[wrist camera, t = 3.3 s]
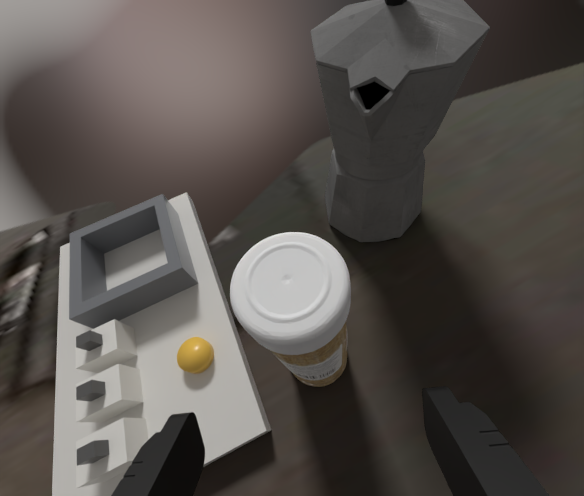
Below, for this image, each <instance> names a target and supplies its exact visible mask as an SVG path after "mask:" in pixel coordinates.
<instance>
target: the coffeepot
mask: <svg viewBox="0 0 584 496" xmlns="http://www.w3.org/2000/svg"><path fill="white" fill-rule="evenodd" d="M489 28H490V27H489V26H488V25H487V24H486V23H485V22H484V21H483V20H482V19H481V18H480V17H479V16H478V15H477V14H476V13H475V12H474V11H473V10H472V9H471V8H470V7H469V6H468V5H467V4H466V3H465V2H464V1H463V0H370V1H365V2H361V3H356V4H351V5H347V6H345V7H344V8H342V9H341V10H340V11H338V12H337V13H335V14H334V15H332V16H331V17H330V18H328V19H327V20H325V21H324V22H322V23H321V24H320V25H319V26H317V27H315V28H314V29H312V30H311V37H312V43H313V49H314V54H315V59H316V64H317V68H318V73H319V78H320V83H321V88H322V93H323V98H324V103H325V108H326V112H327V117H328V122H329V127H330V132H331V137H332V142H333V146H334V149H333V151H332V156H331V162H330V168H329V174H328V180H327V186H326V192H325V201H326V207H327V214H328V220H329V224H330V225H331V226H333V227H334V228H336V229H337V230H339V231H340V232H341V233H343V234H344V235H346V236H348V237H350V238H352V239H355V240H357V241H359V242H380V241H385V240H389V239H392V238H399V237H401V236H402V235H403V233H404V232H405V231H406V230H407V229H408V228H409V227H410V226H411V224H412V222H413V221H414V220H415V218H416V217H417V216H418V215H419V214H420V212H421V206H422V193H423V181H424V168H425V159H424V154H423V150H424V148H425V147H426V146H427V145H428V143H429V142H430V141H431V140H432V138H433V137H434V136H435V134H436V132H437V130H438V128H439V126H440V124H441V122H442V121H443V119H444V117H445V115H446V113H447V111H448V109H449V107H450V105H451V103H452V101H453V99H454V97H455V95H456V93H457V91H458V89H459V87H460V85H461V83H462V81H463V79H464V77H465V75H466V73H467V71H468V69H469V67H470V66H471V64H472V62H473V59H474V58H475V56H476V54H477V52H478V50H479V48H480V46H481V44H482V42H483V40H484V38H485V36H486V34H487V32H488V31H489Z"/></svg>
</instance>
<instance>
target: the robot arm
mask: <svg viewBox="0 0 584 496" xmlns="http://www.w3.org/2000/svg"><path fill="white" fill-rule="evenodd" d="M422 396H423V409H424V422H425V430H426V435H427V438H428V441H429V444H430V447H431V449H432V451H433V453H434V456H435V458H436V460H437V462H438V464H439V466H440V468H441V470H442V473H443V475H444V477H445V479H446V481H447V483H448V485H449V487H450V489H451V492H452V494H453V496H549V494H548V493H547V492H546V490H545V489H544V488H543V487H542V485H541V484H540V483H539V481H538V480H537V479H536V478H535V476H534V475H533V474H532V472H531V471H530V470H529V469H528V467H527V466H526V465H525V464H524V462H523V461H522V460H521V458H520V457H519V456H518V455H517V453H516V452H515V451H514V449H513V448H512V447H510V446H509V443H508V442H507V440H506V439H505V438H504V437H503V435H502V434H501V433H499V431H498V429H497V428H496V426H495V425H494V424H493V422H492V421H491V420H490V419H489V417H488V416H487V415H486V414H485V413H484V412H482V411H481V410H480V409H478V408H477V407H476V406H474V405H473V404H471V403H470V402H464V403H459V402H458V401H457V399H456V398H455V396H454V395H453V393H452V392H451V391H450V389H449V388H448V387H447V386H443V387H433V388H424V389H423V391H422ZM204 460H205V447H204V443H203V439H202V436H201V432H200V428H199V425H198V421H197V418H196V415H195V413H193V412H189V413H180V414H172V415H171V416H170V417H169V418H168V420H167V421H166V423H165V425H164V427H163V428H162V430H161V432H157V433H155V434H154V435H153V436H152V437H151V438H150V439H149V440H148V441H147V442H146V443H145V444H144V445H143V446H142V447H141V448H140V450H139V452H138V453H137V455H136V456H135V458H134V460H133V461H132V465H131V466H129V468H128V469H127V471H126V473H125V474H124V477H123V479H121V481H120V482H119V484H118V485H117V487H116V489H115V490H114V492H113V493H112V495H111V496H193V494H194V491H195V488H196V486H197V483H198V480H199V477H200V474H201V472H202V469H203V465H204Z"/></svg>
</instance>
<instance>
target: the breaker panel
mask: <svg viewBox="0 0 584 496" xmlns="http://www.w3.org/2000/svg"><path fill="white" fill-rule="evenodd" d="M189 412H193V413H195V415H196V418H197V421H198V425H199V428H200V432H201V436H202V439H203V443H204V447H205V460H204V465H203V467H205V466H206V465H208V464H210V463H212V462H214V461H216V460H217V459H219V458H221V457H223V456H225V455H227V454H229V453H230V452H232V451H234V450H236V449H238V448H240V447H241V446H243V445H245V444H247V443H249V442H251V441H253V440H254V439H256V438H258V437H260V436H262V435H264V434H265V433H267V432H269V431H271V428H270V425H269V422H268V419H267V416H266V413H265V410H264V407H263V404H262V402H261V399H260V396H259V393H258V390H257V387H256V384H255V381H254V378H253V375H252V373H251V370H250V367H249V364H248V361H247V358H246V355H245V352H244V349H243V346H242V343H241V341H240V338H239V335H238V332H237V329H236V326H235V323H234V320H233V317H232V314H231V312H230V309H229V306H228V303H227V300H226V297H225V294H224V291H223V288H222V285H221V282H220V280H219V277H218V274H217V271H216V268H215V265H214V262H213V259H212V256H211V253H210V250H209V248H208V245H207V242H206V239H205V236H204V233H203V231H202V227H201V224H200V222H199V219H198V216H197V213H196V210H195V207H194V204H193V201H192V200H191V198H190V197H189V195H188V194H187V193H184V194H182V195H180V196H177V197H175V198H173V199H170V200H167V199H166V197H165V196H164V195H163V194H161V195H159V196H157V197H154V198H152V199H150V200H147V201H145V202H143V203H141V204H138V205H136V206H133V207H131V208H129V209H126V210H125V211H122V212H119V213H117V214H115V215H112V216H110V217H108V218H105V219H103V220H101V221H98V222H96V223H94V224H91V225H89V226H87V227H84V228H82V229H80V230H77V231H75V232H73V233H70V243H68V244H66V245H64V246H61V247H60V270H59V300H58V331H57V361H56V392H55V422H54V453H53V483H52V496H111V495H112V493H113V492H114V490H115V489H116V487H117V485H118V484H119V482H120V481H121V479H123V477H124V474H125V473H126V471H127V469H128V468H129V466H131V465H132V461H133V460H134V458H135V456H136V455H137V453H138V452H139V450H140V448H141V447H142V446H143V445H144V444H145V443H146V442H147V441H148V440H149V439H150V438H151V437H152V436H153V435H154V434H155V433H157V432H161V430H162V428H163V427H164V425H165V423H166V421H167V420H168V418H169V417H170V416H171V415H172V414H180V413H189Z"/></svg>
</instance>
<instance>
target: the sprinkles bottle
mask: <svg viewBox="0 0 584 496" xmlns="http://www.w3.org/2000/svg"><path fill="white" fill-rule="evenodd" d="M230 299H231V305H232V308H233V311H234V314H235V316H236V318H237V319H238V321H239V322H240V324H241V325H242V327H243V328H244V329H245V330H246V331H247V332H248V333H249V334H250V335H251V336H252V337H253V338H254V339H255V340H256V341H257V342H258V343H259V344H261V345H262V346H264V347H265V348H267V349H269V350H271V352H272V353H273V354H274V355H275V356H276V357H277V358H278V359H279V360H280V361H281V362H282V363H283V364H284V365H285V366H286V367H287V368H288V369H289V370H290V371H291V372H292V373H293V374H294V376H295V377H296V378H297V379H298V380H299V381H301V382H302V383H304V384H306V385H310V386H314V387H316V386H318V387H322V386H326V385H329V384H331V383H333V382H334V381H335V380H336V379H337V378H338V377H340V376H341V374H342V372H343V371H344V369H345V367H346V363H347V351H346V349H347V328H346V319H347V316H348V313H349V310H350V303H351V285H350V276H349V272H348V269H347V266H346V263H345V261H344V259H343V258H342V256H341V255H340V254H339V252H338V251H337V250H336V249H335V248H334V247H333V246H332V245H331V244H329V243H328V242H326V241H325V240H323V239H321V238H319V237H317V236H315V235H311V234H307V233H301V232H288V233H281V234H277V235H273V236H271V237H268V238H266V239H264V240H262V241H260V242H259V243H257V244H256V245H254V246H253V247H252V248H251V249H250V250H249V251H248V252H247V253H246V254H245V255H244V256H243V257H242V259H241V260H240V261H239V263H238V264H237V267H236V269H235V271H234V273H233V276H232V280H231V285H230Z"/></svg>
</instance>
